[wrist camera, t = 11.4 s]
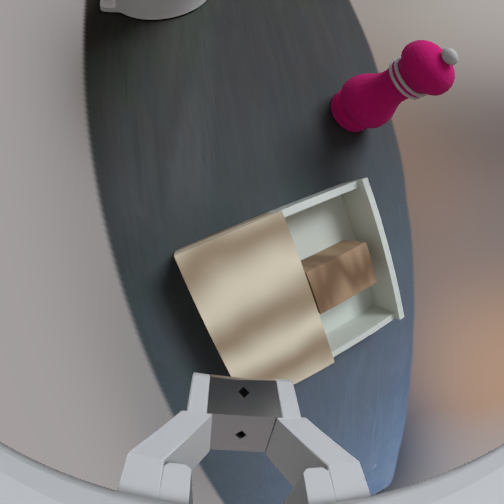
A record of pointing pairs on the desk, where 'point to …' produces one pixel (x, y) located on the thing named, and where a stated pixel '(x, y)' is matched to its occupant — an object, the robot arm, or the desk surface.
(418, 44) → the pepper mill
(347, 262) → the walnut block
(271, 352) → the beige box sleeve
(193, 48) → the desk surface
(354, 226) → the tray
